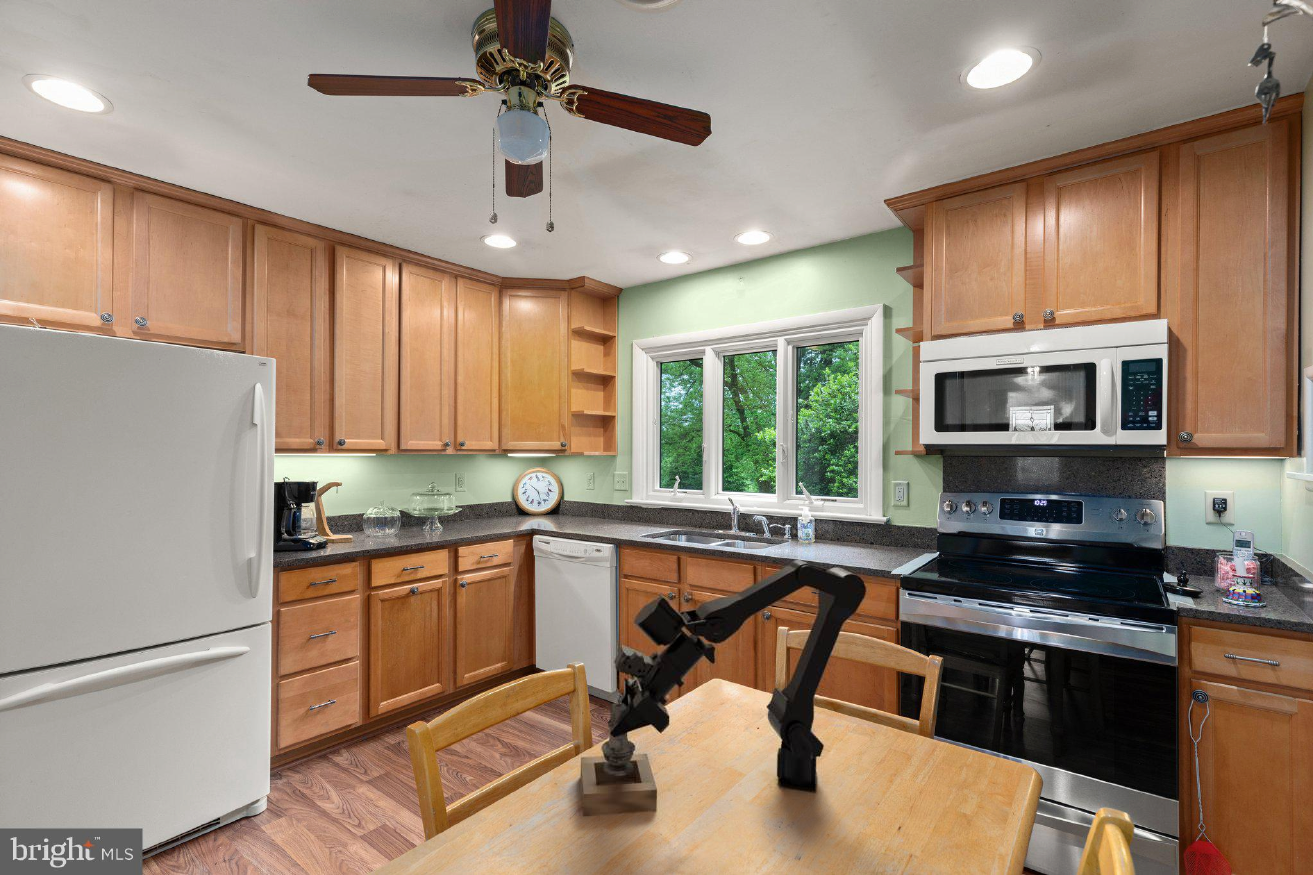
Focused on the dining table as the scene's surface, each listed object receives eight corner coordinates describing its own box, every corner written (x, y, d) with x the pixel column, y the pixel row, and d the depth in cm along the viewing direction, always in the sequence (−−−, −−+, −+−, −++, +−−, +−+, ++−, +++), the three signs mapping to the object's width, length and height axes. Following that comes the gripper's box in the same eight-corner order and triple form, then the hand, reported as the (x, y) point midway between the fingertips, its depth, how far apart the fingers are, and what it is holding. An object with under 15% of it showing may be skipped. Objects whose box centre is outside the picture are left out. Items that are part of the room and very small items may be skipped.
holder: (646, 772, 115) (646, 753, 115) (656, 810, 103) (657, 789, 104) (580, 776, 113) (580, 757, 113) (583, 815, 102) (583, 794, 102)
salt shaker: (634, 777, 106) (635, 705, 106) (599, 776, 106) (600, 704, 106) (636, 759, 111) (636, 691, 111) (602, 758, 112) (603, 691, 112)
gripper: (635, 616, 118) (576, 678, 117) (650, 649, 100) (579, 722, 98) (676, 656, 120) (617, 718, 118) (698, 696, 101) (629, 769, 99)
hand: (610, 729), depth 108 cm, fingers closed on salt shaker, 4 cm apart
